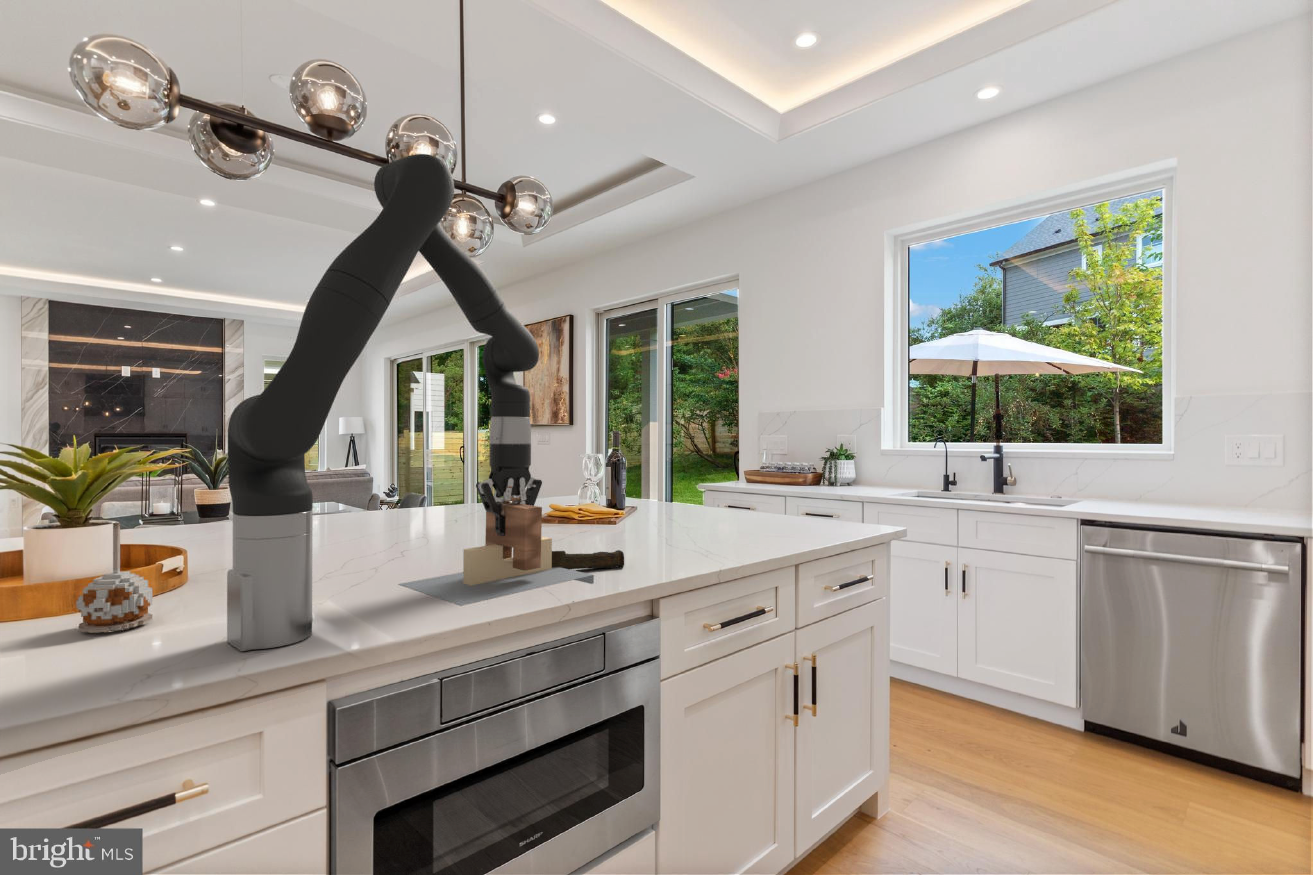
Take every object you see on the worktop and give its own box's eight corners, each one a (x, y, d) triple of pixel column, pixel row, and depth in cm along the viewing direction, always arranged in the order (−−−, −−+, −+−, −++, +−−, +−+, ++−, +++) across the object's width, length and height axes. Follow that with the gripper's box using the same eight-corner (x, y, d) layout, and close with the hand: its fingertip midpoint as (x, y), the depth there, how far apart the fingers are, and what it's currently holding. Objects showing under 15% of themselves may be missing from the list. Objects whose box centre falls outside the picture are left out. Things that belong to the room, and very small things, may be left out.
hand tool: (618, 568, 133) (617, 546, 134) (625, 569, 130) (625, 546, 130) (531, 574, 125) (531, 550, 126) (536, 575, 121) (536, 551, 122)
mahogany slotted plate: (524, 570, 110) (525, 508, 110) (485, 560, 118) (486, 502, 118) (540, 567, 113) (541, 507, 113) (501, 557, 120) (502, 501, 120)
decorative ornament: (64, 638, 84) (64, 527, 84) (102, 621, 92) (102, 519, 92) (131, 634, 86) (131, 525, 86) (163, 618, 93) (163, 518, 93)
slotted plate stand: (461, 614, 96) (461, 566, 96) (398, 592, 109) (398, 549, 109) (593, 582, 117) (593, 542, 117) (527, 567, 130) (527, 531, 130)
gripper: (490, 442, 108) (489, 541, 108) (552, 441, 119) (552, 532, 119) (465, 441, 113) (465, 536, 113) (528, 441, 123) (527, 528, 124)
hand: (509, 533), depth 116 cm, fingers closed on mahogany slotted plate, 3 cm apart
